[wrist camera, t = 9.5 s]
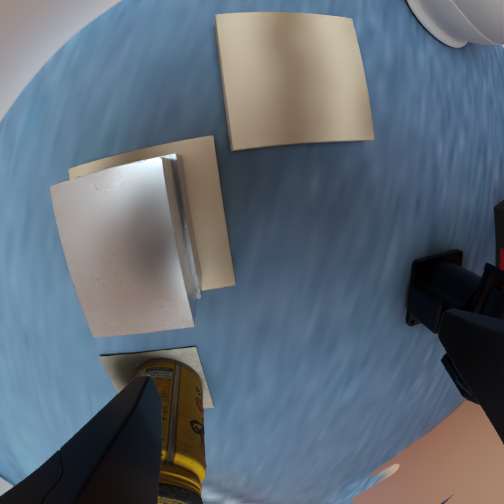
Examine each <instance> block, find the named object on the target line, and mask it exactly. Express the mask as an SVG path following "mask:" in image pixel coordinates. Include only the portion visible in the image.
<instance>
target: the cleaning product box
mask: <svg viewBox="0 0 504 504" xmlns="http://www.w3.org/2000/svg"><path fill="white" fill-rule="evenodd" d="M494 217H495V236H496V267H497V268H499V269H501V270H503V271H504V200H503V201H502V202H500V203H499V204H498V205H496V206H495V207H494Z"/></svg>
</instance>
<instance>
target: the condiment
mask: <svg viewBox="0 0 504 504" xmlns="http://www.w3.org/2000/svg"><path fill="white" fill-rule="evenodd" d="M99 359H100V361H101V363H102V364H103V366H104V368H105V370H106V372H107V374H108V376H109V378H110V379H111V381H112V383H113V385H114V387H115V389H116V390H117V392H118V393H119V392H120V391H121V390H122V389H123V388H124V387H125V386H126V385H128V384H129V383H130V382H131V381H132V380H133V379H134V378H135V377H136V376H142V375H149V376H151V377H152V378H153V380H154V383H155V385H156V387H157V389H158V392H159V394H160V396H161V401H162V455H161V466H160V477H159V490H158V504H203V502H202V498H201V491H202V486H201V484H200V483H202V481H203V480H204V478H205V476H206V462H205V443H204V434H205V433H204V414H203V412H204V408H214V405H213V402H212V399H211V396H210V392H209V389H208V386H207V382H206V379H205V376H204V372H203V369H202V366H201V363H200V359H199V356H198V352H197V348H196V347H191V348H182V349H171V350H161V351H155V352H153V351H152V352H146V353H139V354H125V355H113V356H100V357H99ZM136 364H137V365H136Z"/></svg>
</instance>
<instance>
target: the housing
mask: <svg viewBox="0 0 504 504" xmlns="http://www.w3.org/2000/svg"><path fill="white" fill-rule="evenodd" d="M50 191H51V197H52V203H53V208H54V213H55V217H56V222H57V226H58V231H59V235H60V239H61V243H62V247H63V251H64V254H65V258H66V261H67V265H68V268H69V271H70V275H71V278H72V281H73V284H74V287H75V290H76V293H77V296H78V299H79V302H80V304H81V307H82V310H83V312H84V315H85V318H86V320H87V323H88V325H89V328H90V330H91V333H92V335H93V337H94V338H97V337H109V336H120V335H130V334H140V333H149V332H157V331H166V330H174V329H181V328H189V327H195V313H196V299H201V295H202V272H201V267H200V262H199V256H198V251H197V246H196V240H195V234H194V229H193V223H192V217H191V211H190V205H189V199H188V192H187V186H186V179H185V172H184V165H183V158H182V155H178V154H171V155H166V156H161V157H156V158H151V159H146V160H142V161H137V162H133V163H129V164H124V165H120V166H116V167H112V168H108V169H104V170H100V171H97V172H93V173H89V174H86V175H82V176H79V177H76V178H74V179H71V180H68V181H64V182H61V183H58V184H55V185H52V186H50Z"/></svg>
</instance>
